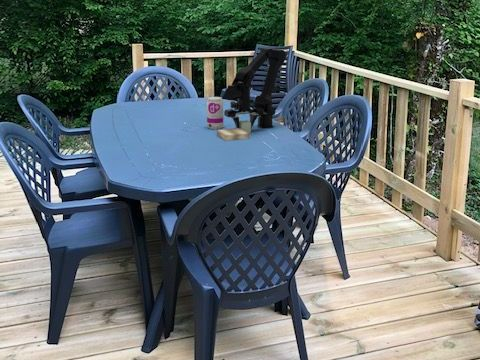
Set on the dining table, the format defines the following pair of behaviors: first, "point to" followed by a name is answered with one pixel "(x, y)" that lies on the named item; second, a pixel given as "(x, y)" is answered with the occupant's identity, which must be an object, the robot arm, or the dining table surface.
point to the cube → (245, 125)
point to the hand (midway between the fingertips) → (244, 129)
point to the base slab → (233, 134)
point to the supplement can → (215, 113)
